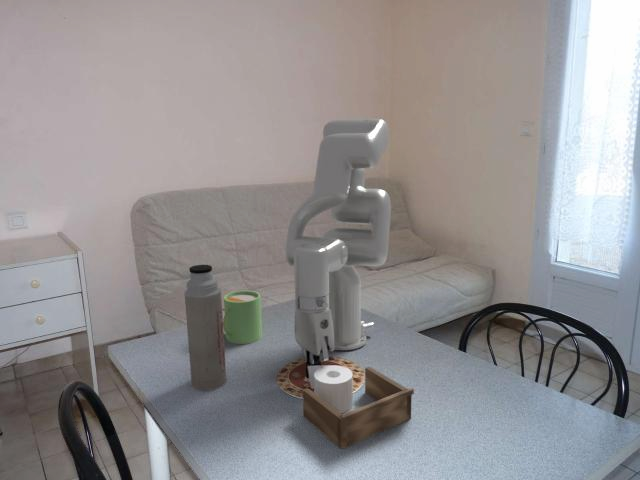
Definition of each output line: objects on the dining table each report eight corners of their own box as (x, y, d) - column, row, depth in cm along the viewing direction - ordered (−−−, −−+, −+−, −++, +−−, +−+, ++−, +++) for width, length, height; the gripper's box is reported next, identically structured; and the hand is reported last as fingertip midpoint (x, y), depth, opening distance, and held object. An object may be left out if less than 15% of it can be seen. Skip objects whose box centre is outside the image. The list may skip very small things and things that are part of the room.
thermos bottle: (231, 375, 122) (224, 262, 116) (218, 392, 114) (210, 272, 108) (200, 372, 123) (192, 261, 117) (185, 389, 116) (175, 270, 110)
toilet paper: (311, 388, 115) (310, 360, 113) (358, 398, 110) (358, 369, 109) (295, 406, 108) (294, 376, 106) (344, 418, 103) (344, 386, 102)
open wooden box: (369, 391, 113) (369, 363, 112) (413, 419, 102) (413, 389, 101) (303, 416, 104) (302, 386, 102) (343, 450, 93) (343, 417, 91)
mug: (243, 326, 151) (240, 288, 149) (269, 334, 145) (267, 294, 143) (211, 341, 141) (208, 300, 139) (238, 350, 135) (235, 307, 133)
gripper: (345, 306, 107) (346, 386, 111) (308, 289, 120) (310, 361, 124) (316, 314, 103) (317, 396, 107) (280, 295, 116) (283, 369, 120)
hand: (313, 377), depth 116 cm, fingers closed
